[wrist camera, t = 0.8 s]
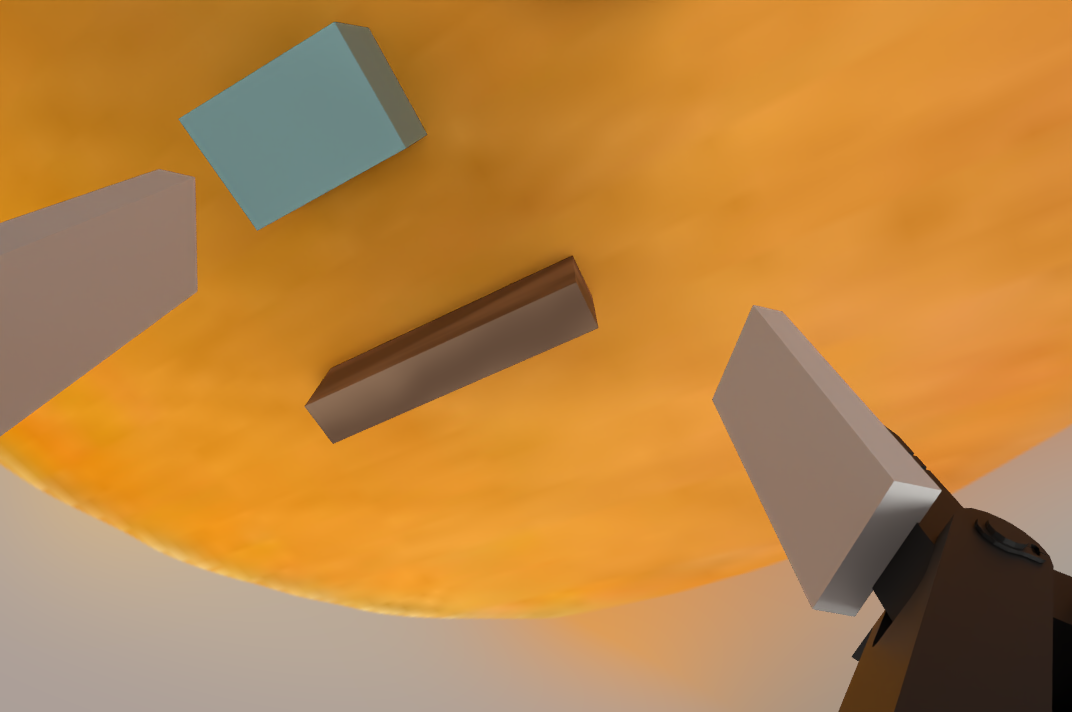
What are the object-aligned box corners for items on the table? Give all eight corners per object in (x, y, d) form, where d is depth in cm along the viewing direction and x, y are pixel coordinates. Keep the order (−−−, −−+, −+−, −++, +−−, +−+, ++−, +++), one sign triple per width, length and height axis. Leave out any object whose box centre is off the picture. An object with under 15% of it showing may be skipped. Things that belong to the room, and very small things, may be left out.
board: (330, 368, 41) (304, 406, 37) (572, 255, 38) (576, 282, 33) (355, 402, 43) (333, 443, 38) (592, 296, 39) (598, 327, 34)
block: (236, 109, 34) (178, 119, 29) (369, 27, 33) (334, 22, 27) (299, 205, 37) (257, 230, 31) (427, 134, 35) (406, 148, 29)
